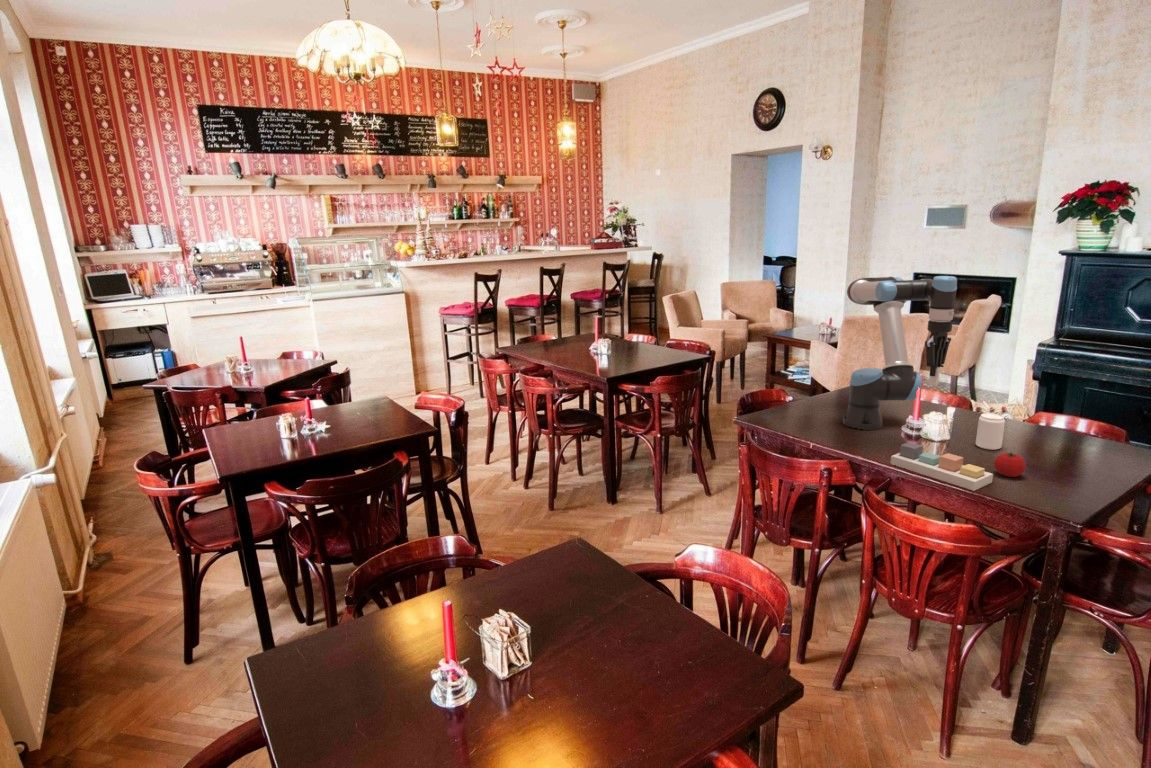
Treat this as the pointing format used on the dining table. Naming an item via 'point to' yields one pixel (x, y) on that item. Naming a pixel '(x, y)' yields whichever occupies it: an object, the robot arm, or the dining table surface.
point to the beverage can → (990, 431)
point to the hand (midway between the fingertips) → (933, 384)
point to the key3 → (951, 462)
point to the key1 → (911, 450)
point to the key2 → (929, 458)
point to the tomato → (1010, 464)
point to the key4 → (972, 471)
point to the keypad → (941, 473)
